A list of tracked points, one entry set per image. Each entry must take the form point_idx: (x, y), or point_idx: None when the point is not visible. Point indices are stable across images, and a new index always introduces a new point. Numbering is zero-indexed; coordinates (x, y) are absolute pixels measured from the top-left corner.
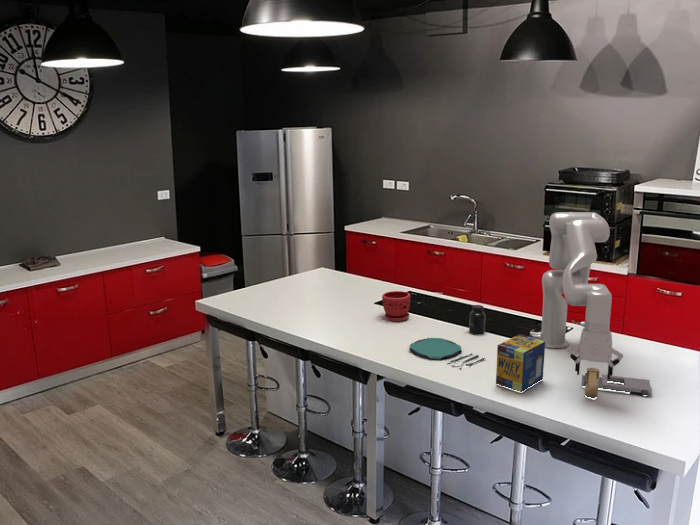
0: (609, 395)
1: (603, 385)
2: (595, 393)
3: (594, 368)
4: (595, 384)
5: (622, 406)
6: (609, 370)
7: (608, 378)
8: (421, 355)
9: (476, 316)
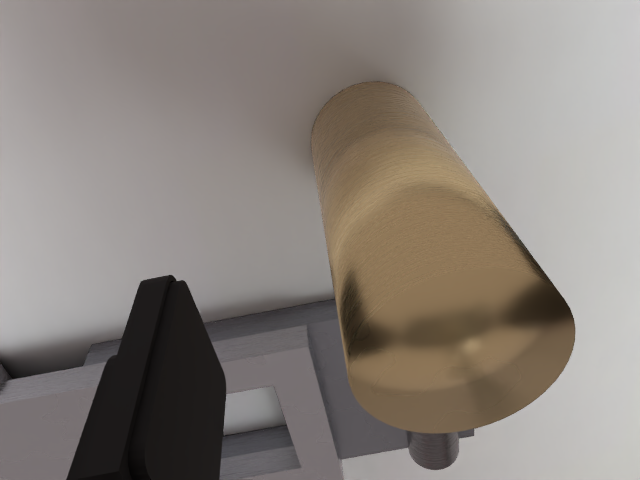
0: (227, 259)
1: (297, 342)
2: (332, 130)
3: (442, 423)
4: (356, 175)
5: (41, 94)
6: (127, 404)
7: (170, 276)
8: None
9: None
